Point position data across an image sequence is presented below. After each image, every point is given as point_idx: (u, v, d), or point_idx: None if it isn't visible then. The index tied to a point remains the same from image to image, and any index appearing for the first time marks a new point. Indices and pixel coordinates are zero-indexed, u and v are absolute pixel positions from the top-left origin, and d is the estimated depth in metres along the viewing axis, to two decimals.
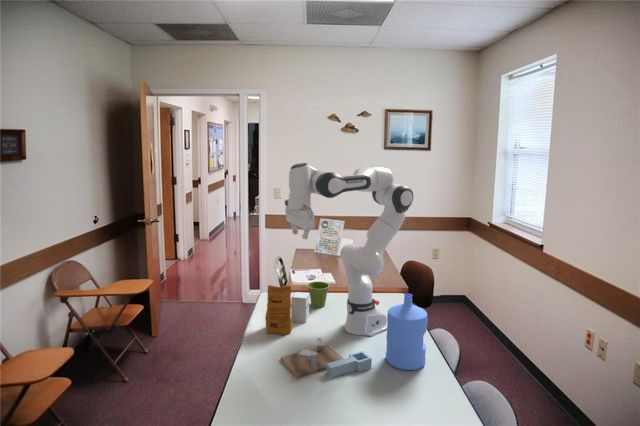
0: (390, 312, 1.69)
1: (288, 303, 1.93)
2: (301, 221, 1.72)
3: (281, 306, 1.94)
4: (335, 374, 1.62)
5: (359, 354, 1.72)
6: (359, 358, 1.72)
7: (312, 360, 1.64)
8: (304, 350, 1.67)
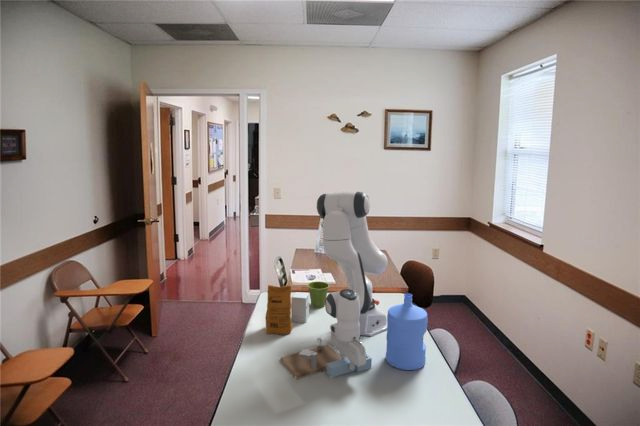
0: (390, 312, 1.69)
1: (288, 303, 1.93)
2: (350, 354, 1.60)
3: (281, 306, 1.94)
4: (335, 374, 1.62)
5: None
6: None
7: (312, 360, 1.64)
8: (304, 350, 1.67)
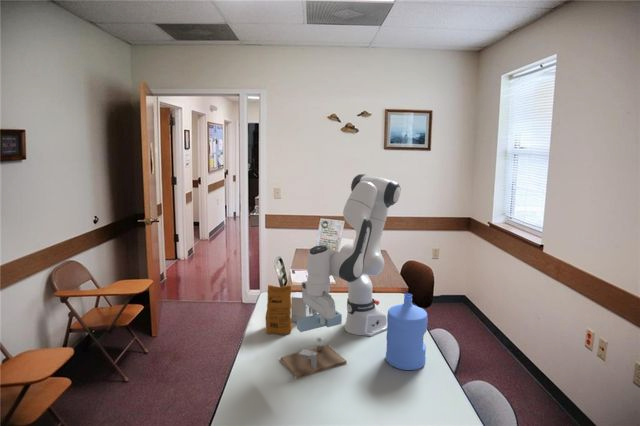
0: (390, 312, 1.69)
1: (288, 303, 1.93)
2: (320, 308, 1.63)
3: (281, 306, 1.94)
4: (305, 329, 1.65)
5: None
6: None
7: (312, 360, 1.64)
8: (304, 350, 1.67)
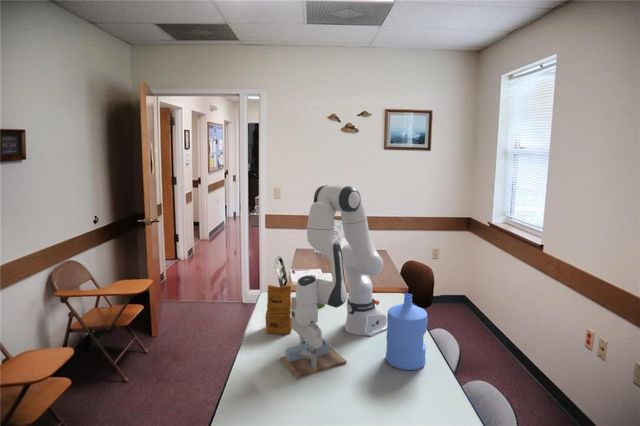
0: (390, 312, 1.69)
1: (288, 303, 1.93)
2: (308, 337, 1.68)
3: (281, 306, 1.94)
4: (293, 359, 1.71)
5: None
6: None
7: (312, 360, 1.64)
8: (304, 350, 1.67)
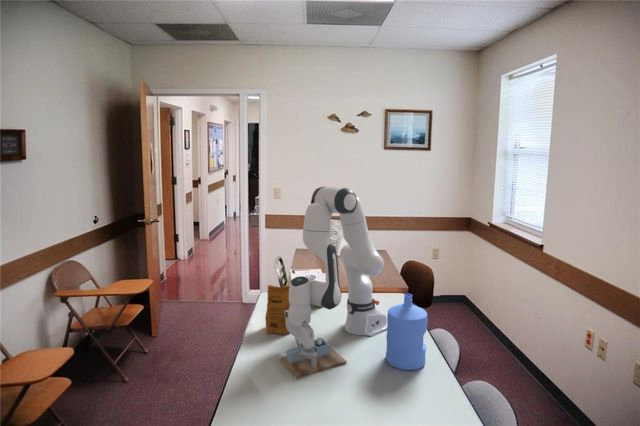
0: (390, 312, 1.69)
1: (288, 303, 1.93)
2: (301, 337, 1.70)
3: (281, 306, 1.94)
4: (295, 360, 1.70)
5: None
6: None
7: (312, 360, 1.64)
8: (304, 350, 1.67)
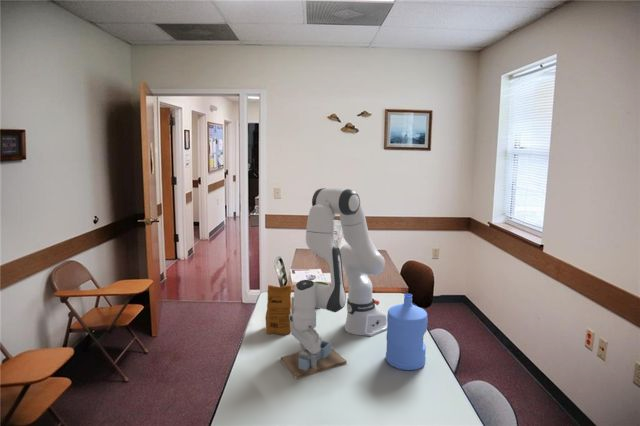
0: (390, 312, 1.69)
1: (288, 303, 1.93)
2: (306, 342, 1.66)
3: (281, 306, 1.94)
4: (308, 366, 1.65)
5: None
6: None
7: (312, 360, 1.64)
8: (304, 350, 1.67)
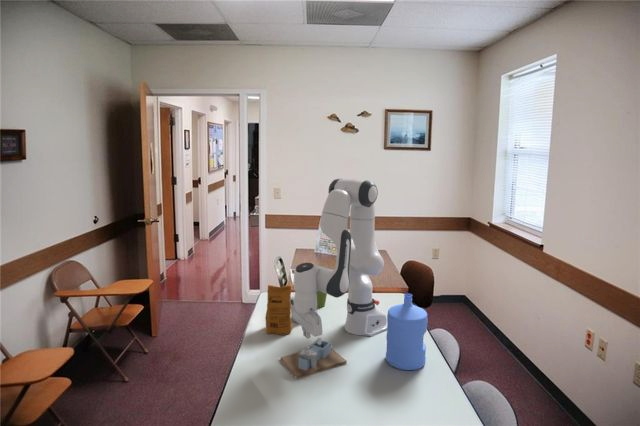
0: (390, 312, 1.69)
1: (288, 303, 1.93)
2: (308, 325, 1.65)
3: (281, 306, 1.94)
4: (309, 366, 1.65)
5: None
6: None
7: (312, 360, 1.64)
8: (304, 350, 1.67)
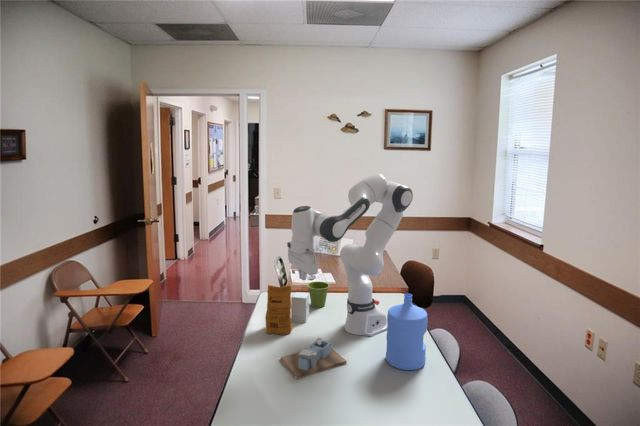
0: (390, 312, 1.69)
1: (288, 303, 1.93)
2: (304, 265, 1.70)
3: (281, 306, 1.94)
4: (309, 366, 1.65)
5: None
6: None
7: (312, 360, 1.64)
8: (304, 350, 1.67)
